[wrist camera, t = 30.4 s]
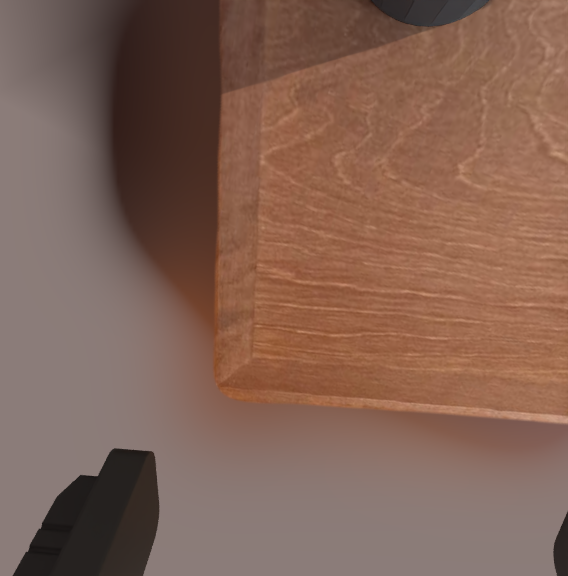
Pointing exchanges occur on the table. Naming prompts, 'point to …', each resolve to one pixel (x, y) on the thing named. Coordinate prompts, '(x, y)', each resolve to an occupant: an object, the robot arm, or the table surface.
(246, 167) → the table surface
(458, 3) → the blue faceted cup
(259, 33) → the table surface
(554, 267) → the table surface
